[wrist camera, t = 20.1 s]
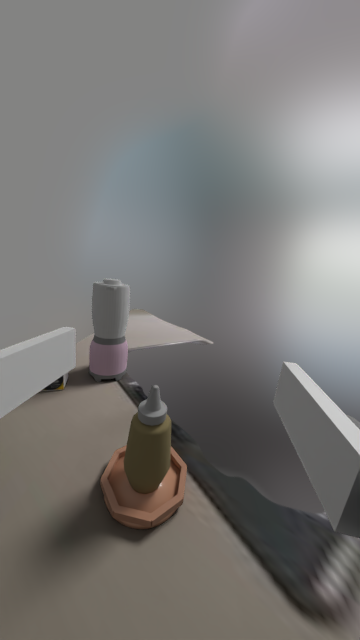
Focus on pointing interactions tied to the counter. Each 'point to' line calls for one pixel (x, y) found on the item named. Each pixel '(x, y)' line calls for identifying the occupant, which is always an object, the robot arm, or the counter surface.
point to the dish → (138, 506)
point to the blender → (109, 329)
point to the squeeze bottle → (148, 445)
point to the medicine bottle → (57, 384)
